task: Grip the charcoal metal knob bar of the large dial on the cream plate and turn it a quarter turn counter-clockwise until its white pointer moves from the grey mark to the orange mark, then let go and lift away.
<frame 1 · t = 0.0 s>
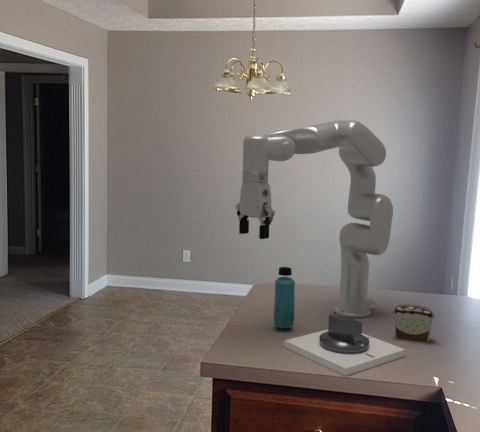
hand: (253, 235, 168), 31 cm above the worktop, tool pointing down, fingers open, 9 cm apart
dial: (344, 331, 161), point 6 cm above the worktop, hinge at 0.0°
dial plate: (343, 351, 162), on the worktop
food container: (411, 338, 174), on the worktop
beverage bottle: (283, 329, 180), on the worktop
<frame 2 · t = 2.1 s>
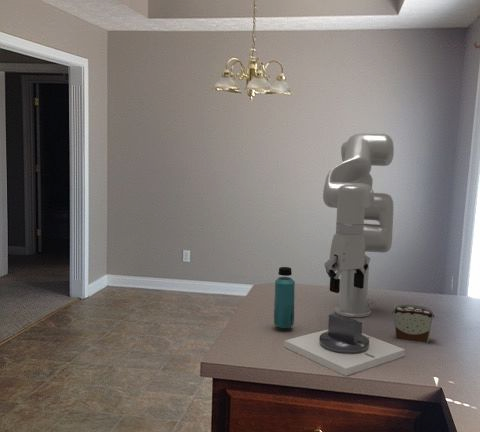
hand: (346, 289, 159), 18 cm above the worktop, tool pointing down, fingers open, 9 cm apart
nothing on the worktop moved.
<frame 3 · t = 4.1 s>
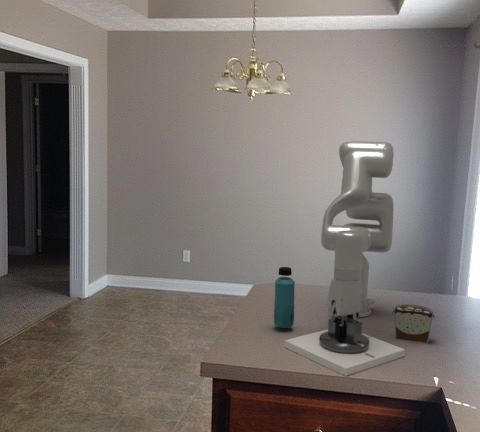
hand: (344, 336, 161), 4 cm above the worktop, tool pointing down, fingers closed on dial, 3 cm apart
dial: (344, 331, 161), point 6 cm above the worktop, hinge at 0.0°, touching gripper
everything else where it was.
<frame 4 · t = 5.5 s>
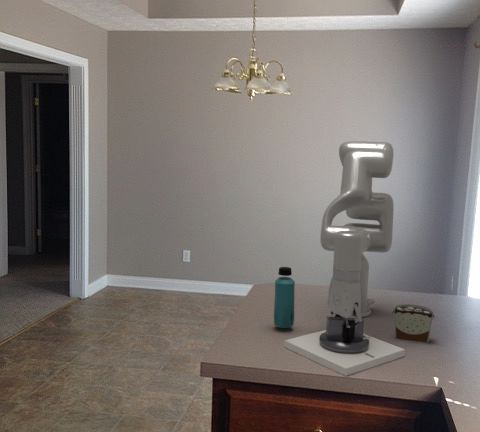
hand: (343, 336, 161), 4 cm above the worktop, tool pointing down, fingers closed on dial, 4 cm apart
dial: (344, 331, 161), point 6 cm above the worktop, hinge at 55.0°, touching gripper
everything else where it was.
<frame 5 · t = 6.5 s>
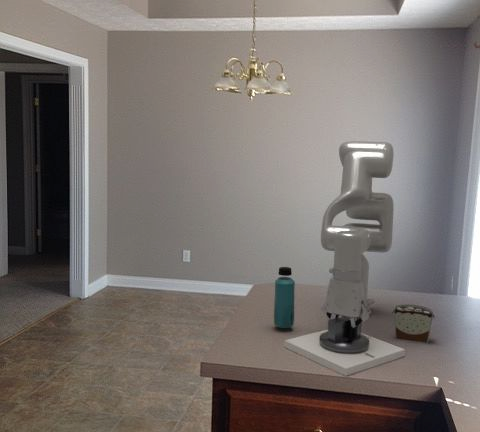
hand: (343, 336, 161), 4 cm above the worktop, tool pointing down, fingers closed on dial, 4 cm apart
dial: (344, 331, 161), point 6 cm above the worktop, hinge at 86.5°, touching gripper
everything else where it was.
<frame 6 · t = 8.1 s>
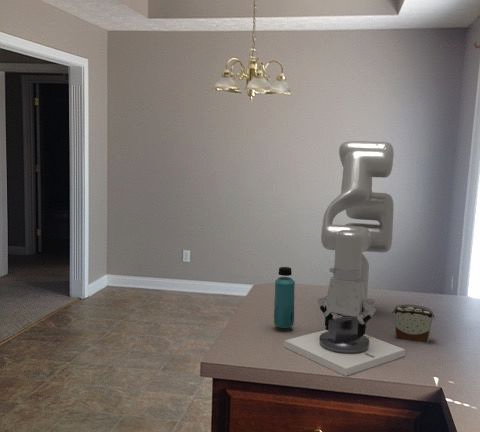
hand: (344, 332, 161), 6 cm above the worktop, tool pointing down, fingers open, 9 cm apart
dial: (344, 331, 161), point 6 cm above the worktop, hinge at 88.0°
everything else where it was.
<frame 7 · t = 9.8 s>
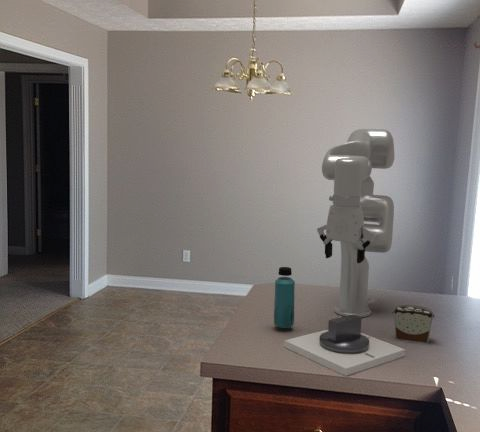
hand: (344, 259, 164), 26 cm above the worktop, tool pointing down, fingers open, 9 cm apart
nothing on the worktop moved.
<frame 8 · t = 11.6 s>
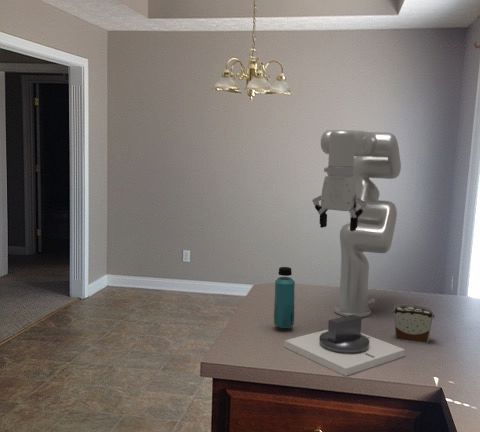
hand: (338, 228, 171), 33 cm above the worktop, tool pointing down, fingers open, 9 cm apart
nothing on the worktop moved.
at the end: dial at +88° (first picture: +0°); the gripper is holding nothing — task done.
